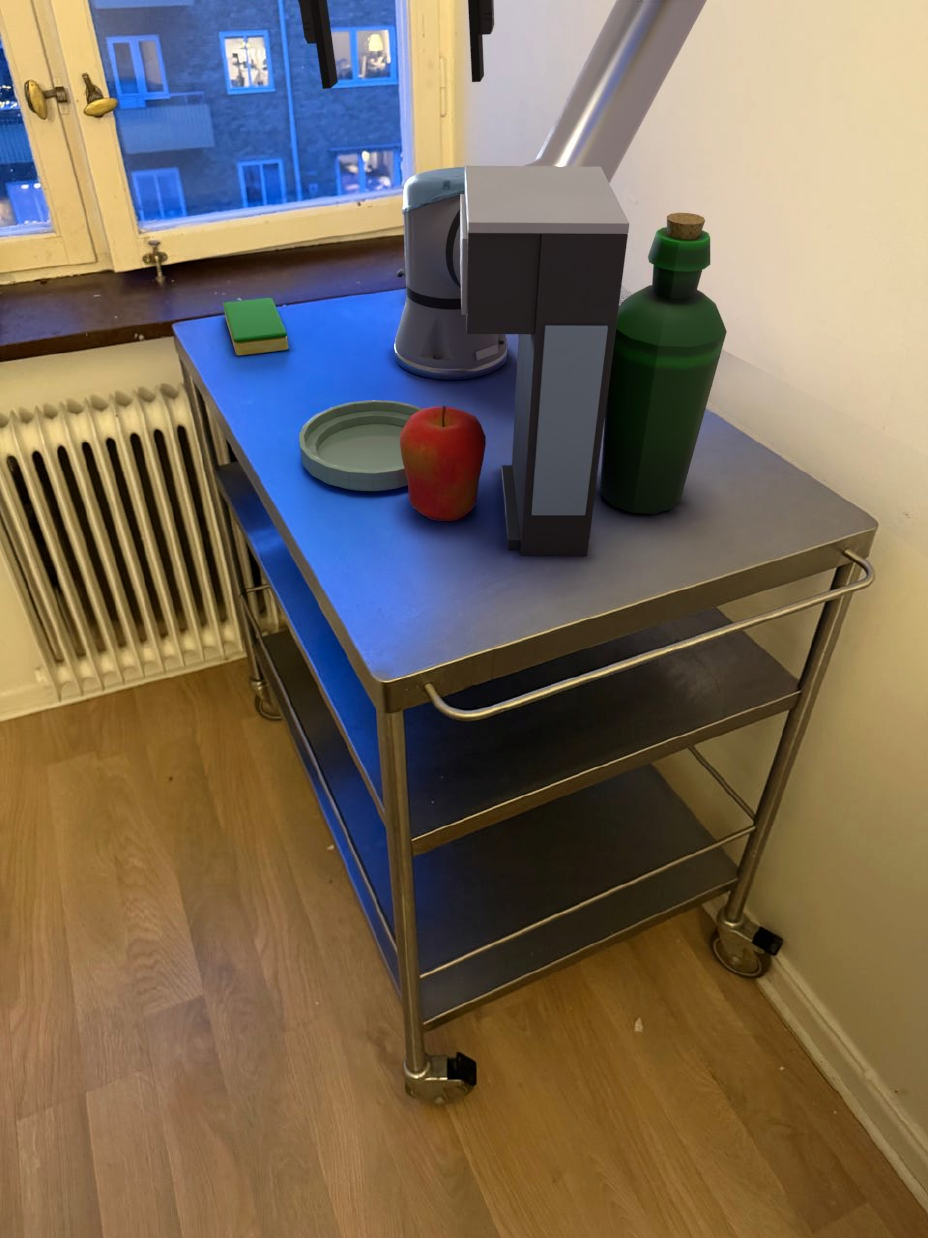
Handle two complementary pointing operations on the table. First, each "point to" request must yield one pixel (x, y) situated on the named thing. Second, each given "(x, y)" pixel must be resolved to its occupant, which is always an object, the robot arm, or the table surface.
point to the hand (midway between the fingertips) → (403, 82)
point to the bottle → (661, 373)
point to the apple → (443, 461)
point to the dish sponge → (255, 326)
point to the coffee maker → (547, 333)
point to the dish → (357, 445)
